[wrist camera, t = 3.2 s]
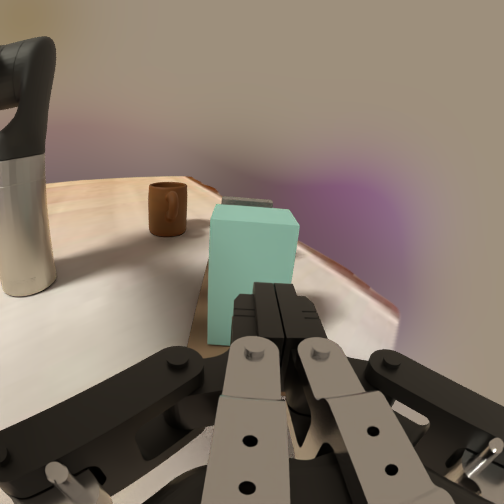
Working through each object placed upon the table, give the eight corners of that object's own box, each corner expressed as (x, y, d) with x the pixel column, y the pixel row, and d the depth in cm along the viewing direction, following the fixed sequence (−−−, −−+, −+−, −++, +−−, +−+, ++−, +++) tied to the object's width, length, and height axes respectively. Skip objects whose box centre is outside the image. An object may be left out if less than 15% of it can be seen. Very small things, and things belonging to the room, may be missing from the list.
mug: (195, 244, 52) (196, 191, 48) (152, 247, 48) (152, 193, 45) (182, 224, 62) (183, 181, 58) (147, 227, 59) (147, 182, 55)
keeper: (279, 347, 25) (299, 225, 21) (207, 344, 25) (210, 219, 21) (274, 316, 30) (289, 209, 26) (211, 313, 29) (216, 203, 25)
